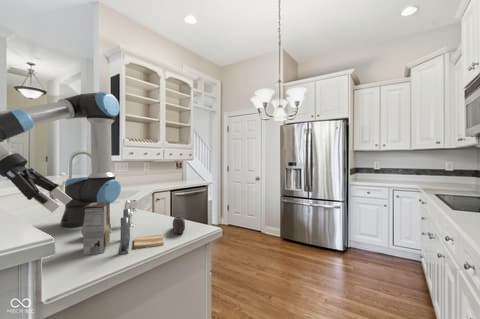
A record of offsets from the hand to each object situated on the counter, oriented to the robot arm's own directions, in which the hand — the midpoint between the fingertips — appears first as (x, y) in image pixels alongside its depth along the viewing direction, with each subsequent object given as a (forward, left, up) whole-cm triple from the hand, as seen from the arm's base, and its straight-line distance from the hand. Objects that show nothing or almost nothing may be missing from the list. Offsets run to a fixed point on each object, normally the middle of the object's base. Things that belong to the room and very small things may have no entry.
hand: (63, 205), depth 78 cm
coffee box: (0, +10, -17) cm, 19 cm away
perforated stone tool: (-11, +40, -17) cm, 45 cm away
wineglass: (-29, +20, -17) cm, 39 cm away
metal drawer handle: (0, +19, -16) cm, 25 cm away
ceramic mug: (-17, +8, -17) cm, 25 cm away
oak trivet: (0, +27, -16) cm, 31 cm away
